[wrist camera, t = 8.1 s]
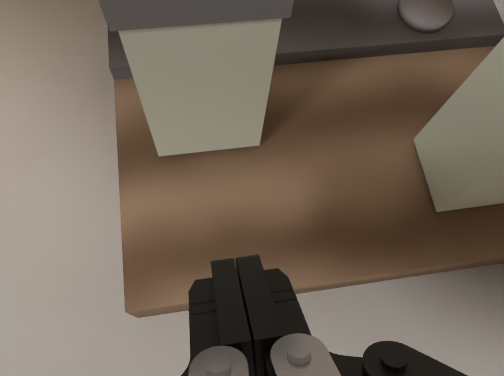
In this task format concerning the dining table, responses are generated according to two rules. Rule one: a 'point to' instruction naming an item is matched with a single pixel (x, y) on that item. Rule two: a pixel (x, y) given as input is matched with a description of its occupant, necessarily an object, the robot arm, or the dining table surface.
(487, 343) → the dining table surface
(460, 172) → the plunger
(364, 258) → the button board
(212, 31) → the marked plunger
